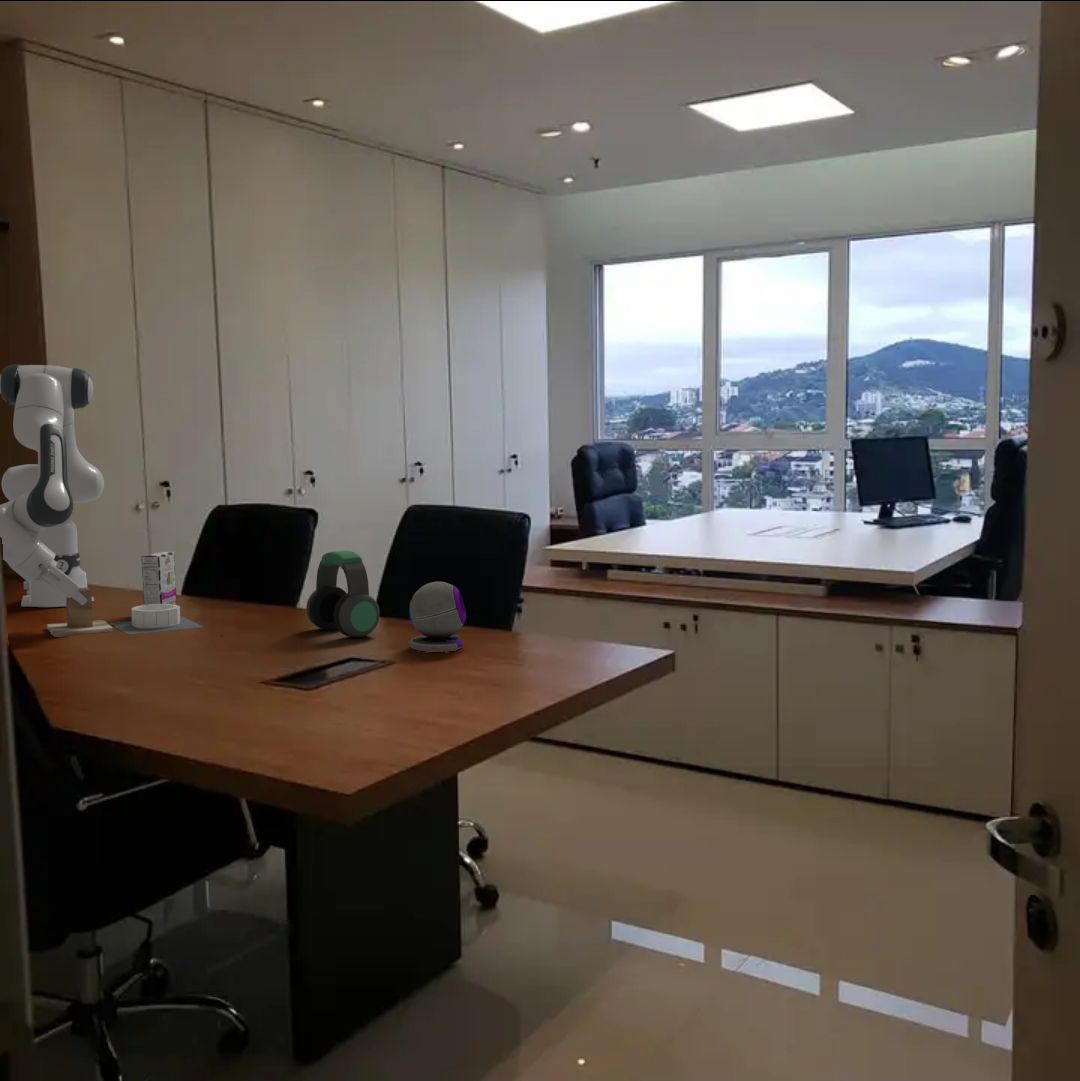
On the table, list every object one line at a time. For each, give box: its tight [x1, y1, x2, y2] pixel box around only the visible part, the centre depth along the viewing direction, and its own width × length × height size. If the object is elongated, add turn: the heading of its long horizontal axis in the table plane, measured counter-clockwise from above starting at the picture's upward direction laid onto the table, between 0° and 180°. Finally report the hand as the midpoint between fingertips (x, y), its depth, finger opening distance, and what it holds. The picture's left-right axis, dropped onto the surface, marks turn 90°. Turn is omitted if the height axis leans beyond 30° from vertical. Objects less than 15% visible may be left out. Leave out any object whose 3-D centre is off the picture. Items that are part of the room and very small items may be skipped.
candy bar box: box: [140, 551, 178, 605], centre depth 279 cm, size 11×5×16 cm, turn 179°
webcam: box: [408, 581, 467, 651], centre depth 242 cm, size 13×13×15 cm
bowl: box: [130, 604, 181, 629], centre depth 265 cm, size 11×11×4 cm
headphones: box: [305, 550, 381, 638], centre depth 258 cm, size 19×11×20 cm, turn 42°
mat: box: [109, 616, 204, 635], centre depth 265 cm, size 18×18×1 cm
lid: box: [46, 586, 114, 638], centre depth 258 cm, size 13×13×10 cm
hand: (81, 600), depth 259 cm, fingers closed on lid, 5 cm apart
